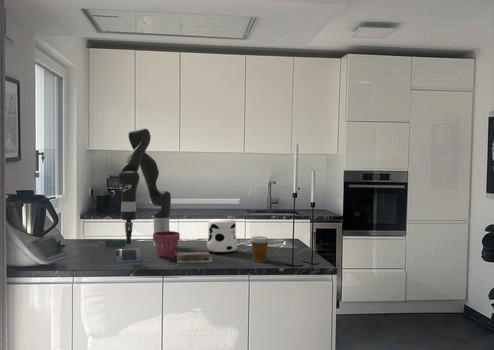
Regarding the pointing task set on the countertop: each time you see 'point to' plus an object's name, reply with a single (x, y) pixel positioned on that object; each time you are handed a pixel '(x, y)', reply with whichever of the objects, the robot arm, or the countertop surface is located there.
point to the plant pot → (166, 243)
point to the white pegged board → (138, 258)
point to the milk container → (221, 236)
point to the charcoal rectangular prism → (126, 254)
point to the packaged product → (194, 258)
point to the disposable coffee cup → (259, 248)
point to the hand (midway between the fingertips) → (128, 243)
